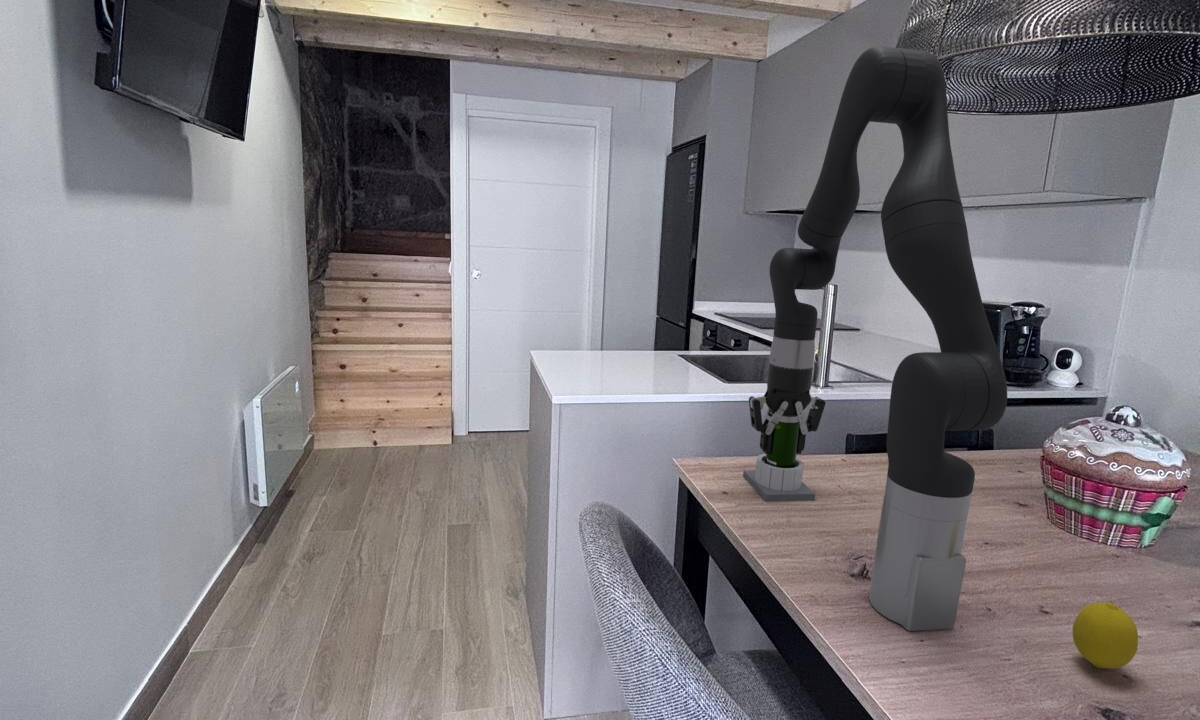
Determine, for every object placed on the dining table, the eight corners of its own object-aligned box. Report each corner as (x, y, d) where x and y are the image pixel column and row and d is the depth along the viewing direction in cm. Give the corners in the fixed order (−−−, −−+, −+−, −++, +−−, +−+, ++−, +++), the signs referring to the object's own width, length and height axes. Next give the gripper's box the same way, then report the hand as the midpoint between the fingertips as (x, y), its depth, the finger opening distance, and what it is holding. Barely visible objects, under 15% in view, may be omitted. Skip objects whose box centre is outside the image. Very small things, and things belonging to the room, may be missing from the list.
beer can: (784, 483, 109) (791, 419, 107) (758, 474, 113) (764, 411, 111) (799, 476, 113) (806, 413, 111) (773, 467, 117) (779, 406, 114)
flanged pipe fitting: (814, 500, 109) (817, 472, 108) (765, 501, 108) (768, 473, 107) (788, 475, 120) (790, 450, 119) (743, 476, 118) (745, 450, 117)
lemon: (1058, 646, 72) (1072, 585, 70) (1113, 657, 70) (1129, 594, 69) (1079, 677, 67) (1094, 612, 65) (1139, 690, 65) (1157, 624, 64)
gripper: (760, 366, 104) (751, 460, 108) (839, 367, 106) (828, 459, 110) (744, 357, 111) (736, 445, 115) (819, 358, 113) (808, 445, 117)
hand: (781, 452), depth 112 cm, fingers closed on beer can, 5 cm apart
